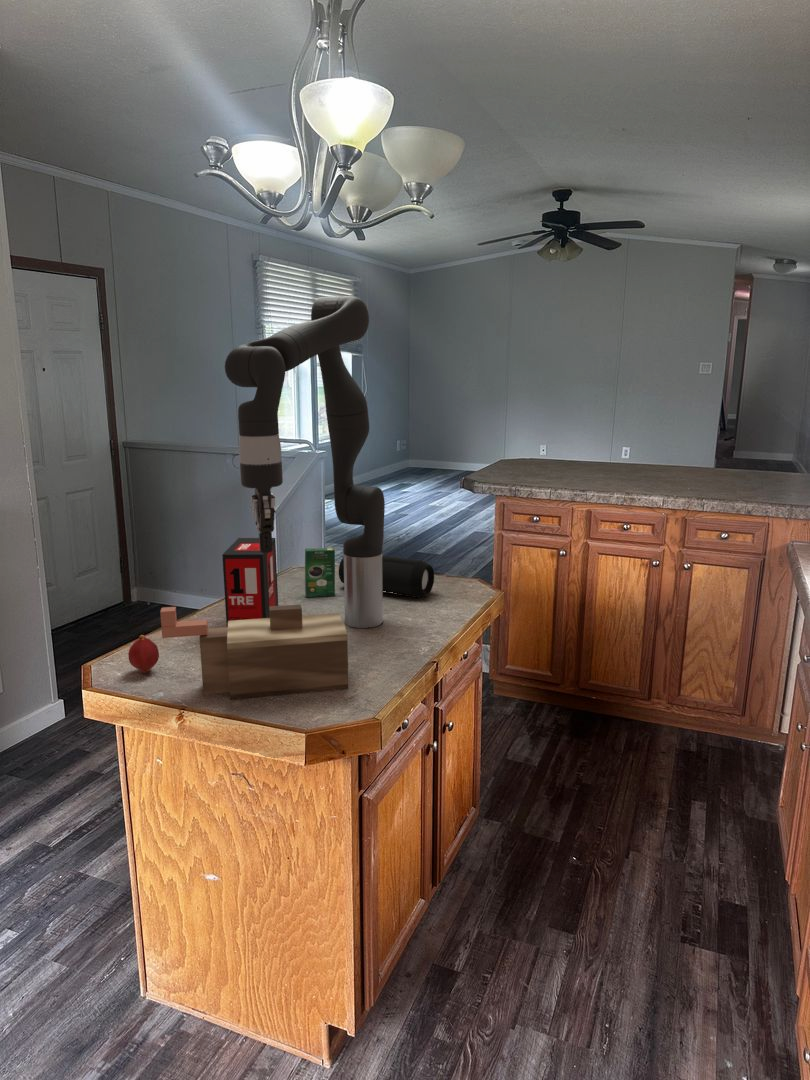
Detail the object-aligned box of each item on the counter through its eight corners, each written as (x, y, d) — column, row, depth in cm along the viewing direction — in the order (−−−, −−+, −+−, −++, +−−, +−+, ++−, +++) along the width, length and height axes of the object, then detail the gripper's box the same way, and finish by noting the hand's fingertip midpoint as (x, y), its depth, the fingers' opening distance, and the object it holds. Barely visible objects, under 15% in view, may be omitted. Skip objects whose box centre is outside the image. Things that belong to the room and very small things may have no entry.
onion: (130, 668, 149) (126, 631, 147) (159, 664, 151) (156, 628, 149) (130, 679, 144) (126, 641, 142) (160, 675, 146) (157, 637, 144)
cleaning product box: (242, 616, 181) (238, 537, 176) (278, 616, 181) (275, 537, 177) (227, 640, 165) (222, 554, 160) (266, 640, 165) (262, 554, 160)
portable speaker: (435, 593, 200) (435, 557, 198) (419, 603, 191) (420, 566, 189) (355, 581, 211) (354, 548, 209) (337, 590, 203) (336, 555, 200)
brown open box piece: (205, 676, 145) (201, 623, 143) (340, 664, 151) (339, 613, 148) (202, 702, 134) (198, 645, 131) (348, 688, 139) (347, 633, 137)
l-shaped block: (163, 632, 137) (161, 607, 136) (207, 629, 139) (206, 604, 138) (162, 638, 134) (160, 612, 133) (207, 634, 136) (205, 609, 135)
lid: (228, 631, 144) (226, 601, 143) (339, 623, 149) (338, 594, 148) (227, 654, 132) (225, 622, 131) (347, 645, 137) (347, 613, 136)
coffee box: (334, 593, 200) (333, 546, 197) (336, 596, 197) (335, 549, 194) (305, 595, 198) (303, 548, 195) (306, 598, 196) (304, 550, 193)
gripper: (286, 463, 128) (291, 558, 132) (276, 454, 140) (281, 541, 144) (243, 465, 126) (249, 562, 130) (236, 456, 138) (242, 545, 142)
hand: (266, 551), depth 137 cm, fingers closed
